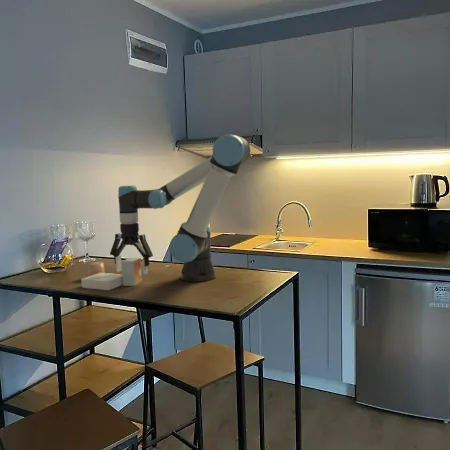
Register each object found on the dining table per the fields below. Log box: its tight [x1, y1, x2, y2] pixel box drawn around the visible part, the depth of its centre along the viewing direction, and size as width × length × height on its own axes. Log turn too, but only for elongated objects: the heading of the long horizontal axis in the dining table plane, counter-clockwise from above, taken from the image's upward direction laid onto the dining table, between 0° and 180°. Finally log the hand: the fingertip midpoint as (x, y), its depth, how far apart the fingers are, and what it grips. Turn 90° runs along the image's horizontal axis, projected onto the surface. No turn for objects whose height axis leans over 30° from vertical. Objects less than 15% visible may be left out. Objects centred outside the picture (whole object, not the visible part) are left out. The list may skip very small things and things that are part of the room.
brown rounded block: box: [87, 261, 106, 277], centre depth 203 cm, size 7×7×7 cm
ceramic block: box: [81, 272, 123, 291], centre depth 192 cm, size 14×12×4 cm
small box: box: [121, 257, 143, 287], centre depth 192 cm, size 8×6×10 cm
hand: (132, 272), depth 193 cm, fingers open, 13 cm apart
